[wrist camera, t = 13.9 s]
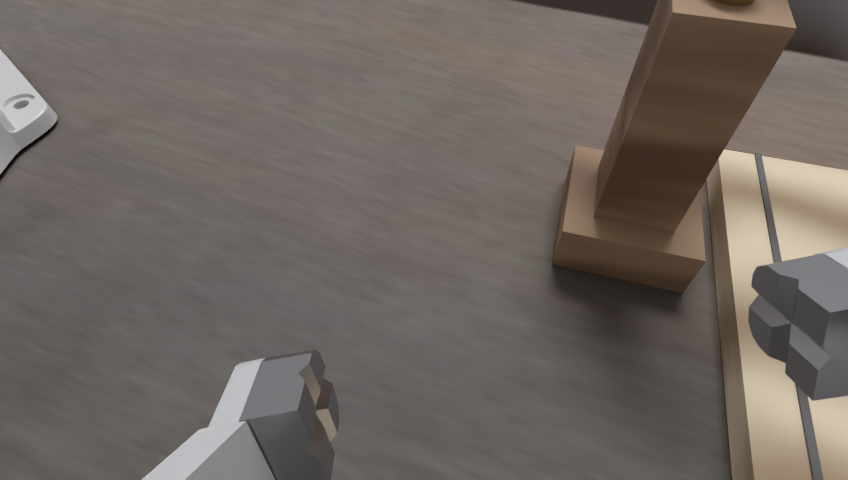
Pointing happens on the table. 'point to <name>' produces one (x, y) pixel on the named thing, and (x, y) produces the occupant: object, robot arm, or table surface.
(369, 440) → the table surface
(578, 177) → the wooden peg post
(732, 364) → the plank
